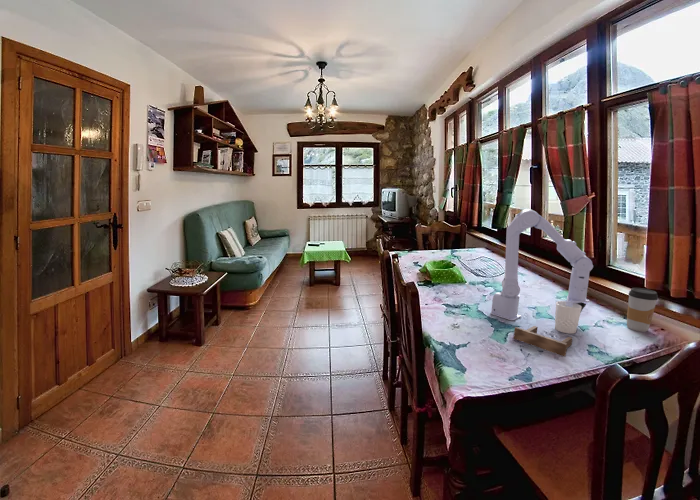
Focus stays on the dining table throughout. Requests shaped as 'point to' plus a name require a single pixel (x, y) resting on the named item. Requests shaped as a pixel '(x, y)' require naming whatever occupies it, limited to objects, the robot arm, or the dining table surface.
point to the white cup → (567, 317)
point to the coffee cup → (640, 308)
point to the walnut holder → (542, 340)
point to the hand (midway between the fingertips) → (573, 320)
